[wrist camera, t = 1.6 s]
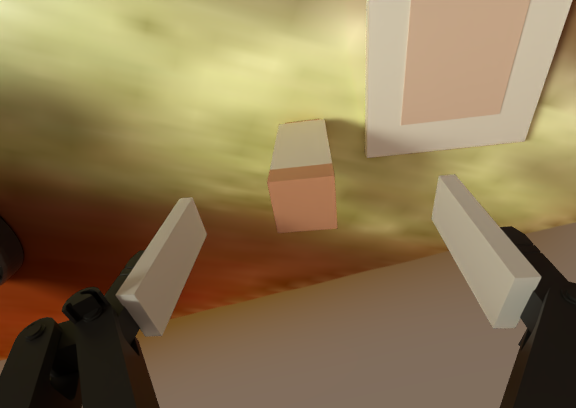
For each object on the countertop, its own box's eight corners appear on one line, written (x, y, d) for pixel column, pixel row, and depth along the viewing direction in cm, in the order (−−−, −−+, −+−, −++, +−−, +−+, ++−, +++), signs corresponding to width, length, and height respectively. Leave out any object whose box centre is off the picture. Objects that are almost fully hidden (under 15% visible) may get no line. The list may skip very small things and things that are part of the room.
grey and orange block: (286, 158, 25) (277, 233, 17) (279, 119, 23) (267, 182, 15) (326, 154, 25) (337, 228, 17) (323, 113, 23) (334, 175, 15)
